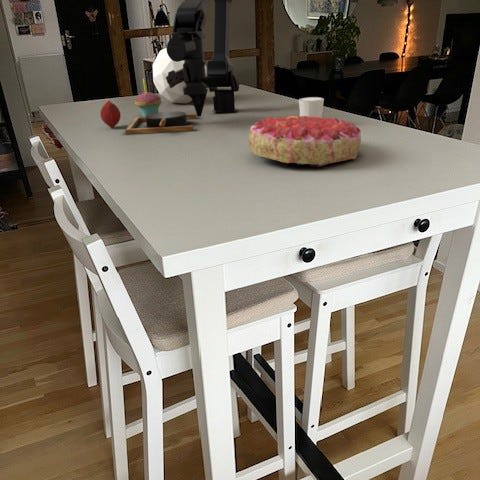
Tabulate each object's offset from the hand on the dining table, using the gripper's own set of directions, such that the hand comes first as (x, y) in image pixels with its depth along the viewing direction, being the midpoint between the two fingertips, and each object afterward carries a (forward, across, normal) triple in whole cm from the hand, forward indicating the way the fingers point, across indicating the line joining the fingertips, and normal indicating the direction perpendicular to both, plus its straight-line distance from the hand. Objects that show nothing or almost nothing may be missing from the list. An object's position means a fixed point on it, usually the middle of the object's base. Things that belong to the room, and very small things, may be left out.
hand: (199, 116), depth 154 cm
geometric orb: (+2, -42, -9) cm, 43 cm away
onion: (+2, -1, -26) cm, 26 cm away
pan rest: (+2, 0, -11) cm, 12 cm away
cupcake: (+2, -18, -18) cm, 25 cm away
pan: (+2, +4, -10) cm, 11 cm away
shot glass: (+2, +12, +32) cm, 34 cm away
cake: (+2, +44, +26) cm, 51 cm away
